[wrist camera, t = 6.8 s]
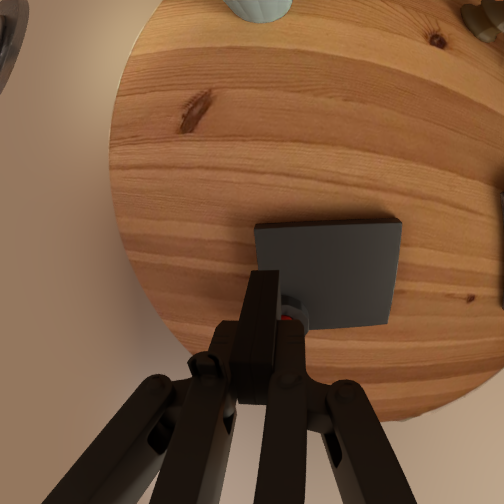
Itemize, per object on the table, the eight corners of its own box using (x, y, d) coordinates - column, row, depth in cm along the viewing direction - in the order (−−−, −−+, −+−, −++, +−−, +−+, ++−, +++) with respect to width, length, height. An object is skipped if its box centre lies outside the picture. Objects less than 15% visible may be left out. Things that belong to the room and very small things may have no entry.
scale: (260, 328, 31) (257, 346, 29) (247, 224, 26) (242, 236, 24) (383, 321, 29) (389, 338, 26) (397, 217, 24) (409, 228, 21)
